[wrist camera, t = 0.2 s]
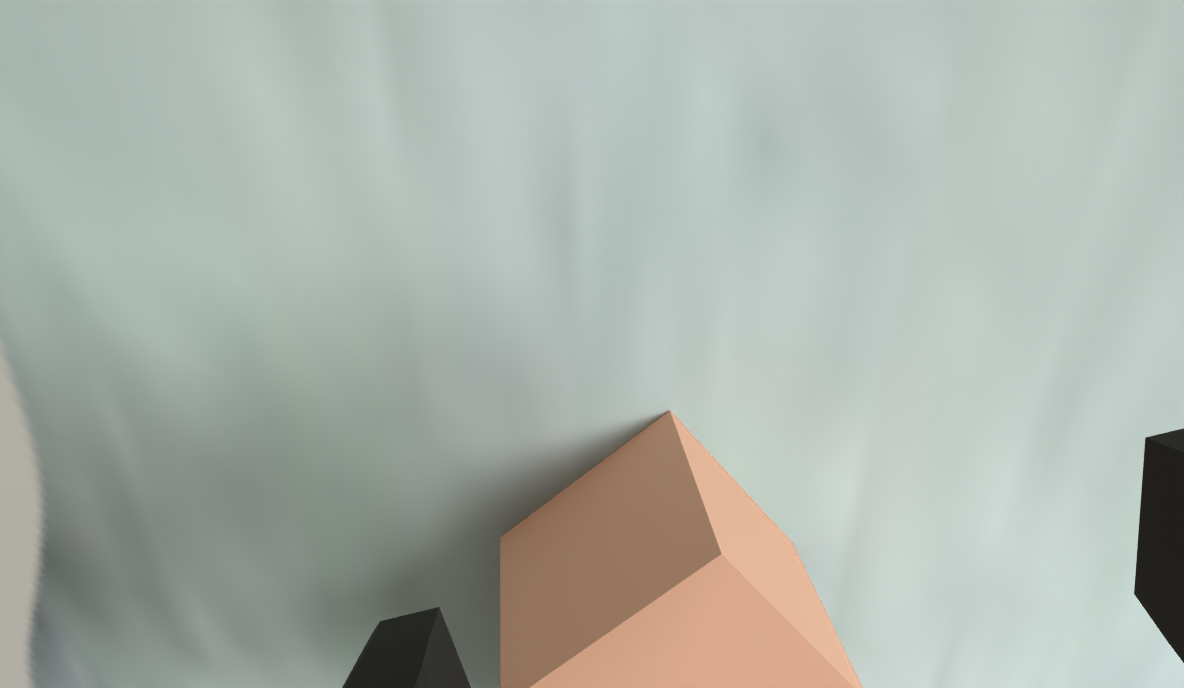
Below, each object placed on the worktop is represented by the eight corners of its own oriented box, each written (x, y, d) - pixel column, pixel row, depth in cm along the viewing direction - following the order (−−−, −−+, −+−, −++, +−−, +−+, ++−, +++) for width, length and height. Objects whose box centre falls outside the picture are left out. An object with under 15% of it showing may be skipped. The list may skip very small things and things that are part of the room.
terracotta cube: (791, 540, 21) (871, 705, 17) (631, 650, 22) (665, 833, 18) (668, 408, 19) (722, 553, 15) (500, 535, 20) (500, 707, 16)
